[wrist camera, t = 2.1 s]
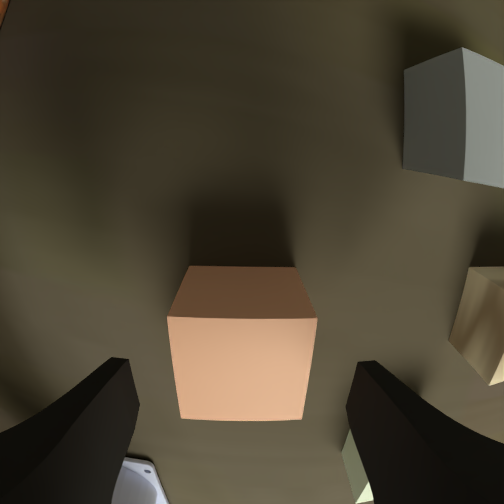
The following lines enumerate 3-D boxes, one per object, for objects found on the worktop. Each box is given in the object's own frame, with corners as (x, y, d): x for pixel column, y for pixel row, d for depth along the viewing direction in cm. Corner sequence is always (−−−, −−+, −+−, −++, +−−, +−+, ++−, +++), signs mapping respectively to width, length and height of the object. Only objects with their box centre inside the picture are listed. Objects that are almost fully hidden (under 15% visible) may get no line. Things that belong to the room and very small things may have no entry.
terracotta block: (287, 352, 15) (301, 419, 11) (194, 351, 15) (181, 418, 11) (295, 266, 14) (317, 318, 9) (189, 264, 14) (166, 316, 9)
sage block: (398, 442, 18) (419, 487, 14) (341, 451, 18) (355, 503, 14) (419, 398, 17) (447, 447, 12) (355, 408, 17) (377, 465, 12)
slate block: (474, 180, 13) (538, 196, 8) (401, 168, 12) (463, 180, 8) (476, 93, 11) (539, 86, 7) (402, 70, 11) (462, 46, 7)
